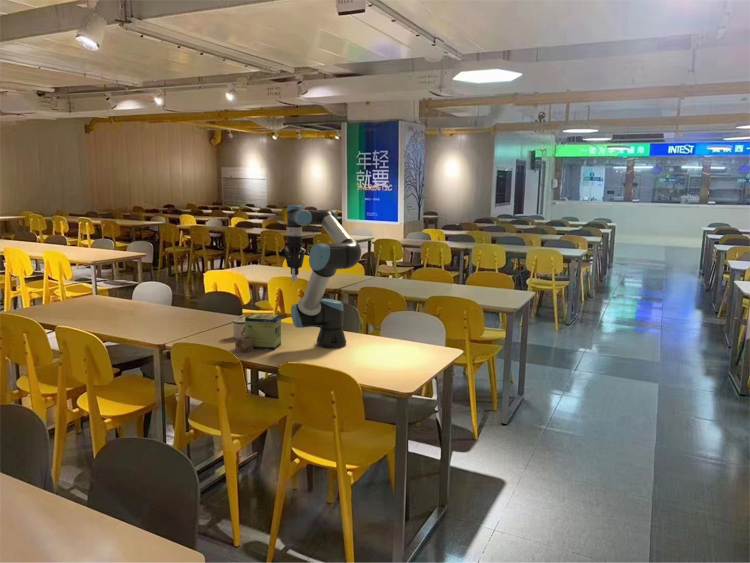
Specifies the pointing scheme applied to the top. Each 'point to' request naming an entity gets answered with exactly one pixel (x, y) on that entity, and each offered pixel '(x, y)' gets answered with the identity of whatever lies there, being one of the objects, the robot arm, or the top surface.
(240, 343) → the numbered walnut block
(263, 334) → the protein box
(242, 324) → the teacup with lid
